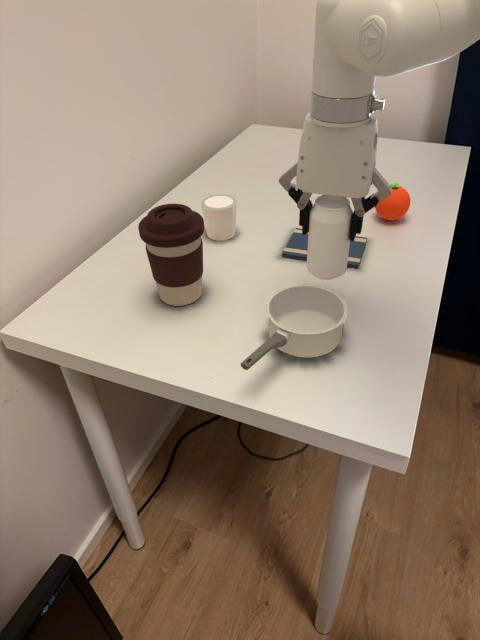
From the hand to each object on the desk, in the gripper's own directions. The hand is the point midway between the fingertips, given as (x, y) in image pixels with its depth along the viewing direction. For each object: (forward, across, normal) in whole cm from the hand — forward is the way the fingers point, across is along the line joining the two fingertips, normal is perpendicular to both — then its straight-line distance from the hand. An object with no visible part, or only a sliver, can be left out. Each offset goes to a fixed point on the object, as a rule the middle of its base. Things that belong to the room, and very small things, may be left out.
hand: (329, 232), depth 72 cm
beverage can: (+7, 0, 0) cm, 7 cm away
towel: (+12, +3, -15) cm, 19 cm away
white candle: (+12, +24, -15) cm, 31 cm away
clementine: (+12, -7, -31) cm, 34 cm away
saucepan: (+12, +2, +14) cm, 19 cm away
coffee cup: (+12, +23, +6) cm, 27 cm away
